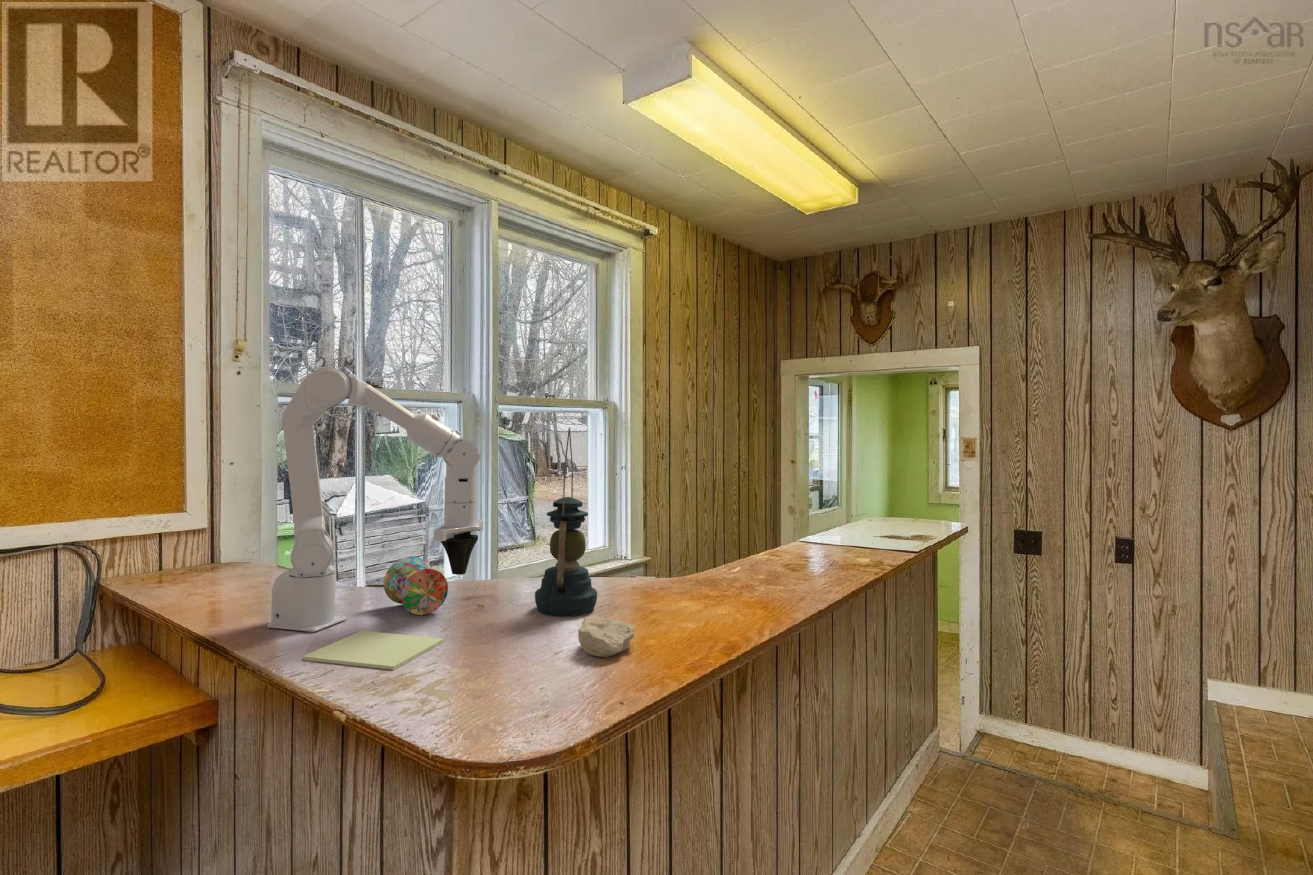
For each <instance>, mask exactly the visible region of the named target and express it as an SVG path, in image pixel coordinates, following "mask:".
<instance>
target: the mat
mask: <svg viewBox="0 0 1313 875" xmlns="http://www.w3.org/2000/svg"><path fill="white" fill-rule="evenodd" d="M444 642H445V638H441V637H431V636H420V635H411V634H410V635H409V634H399V633H391V632H390V633H389V632H378V631H368V630H360V631H358V632H355V633H354V634H351V635H349V636H347V637H344V638H342V639H340V640H337V641H335V642H333V643H330V644H328V645H326V646H323V647H321V648H318V649H316V650H313V651H312V652H310V653H307V654H305V655H303V656H302V660H303V661H310V662H318V663H327V664H328V663H329V664H336V665H346V666H352V667H353V666H355V667H363V668H364V667H365V668H373V669H381V670H382V669H383V670H388V671H389V670H391V671H394V670H396V669H398V668H400V667H401V666H403V665H405V664H407V663H409V662H411V661H413V659H416V658H418V657H420V656H421V655H423V654H425V653H427V652H429V651H430V650H432V649H435V647H437V646H439V645H440V644H444Z"/></svg>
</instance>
